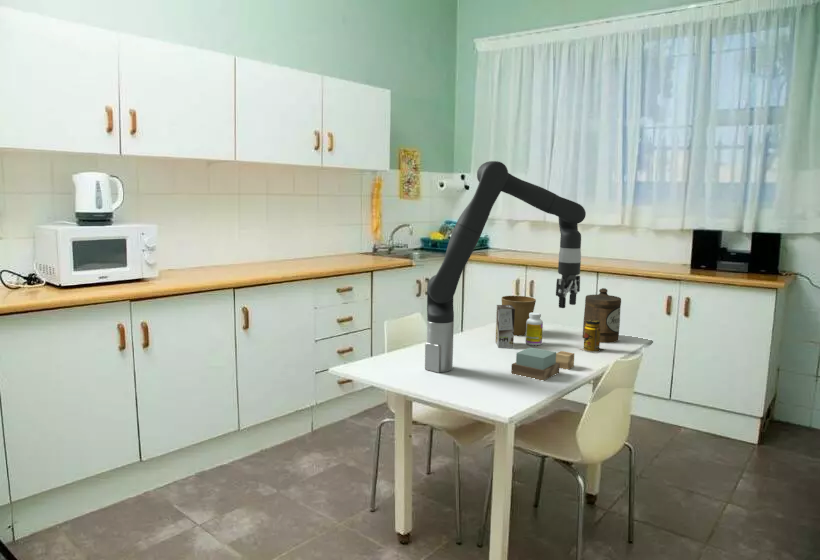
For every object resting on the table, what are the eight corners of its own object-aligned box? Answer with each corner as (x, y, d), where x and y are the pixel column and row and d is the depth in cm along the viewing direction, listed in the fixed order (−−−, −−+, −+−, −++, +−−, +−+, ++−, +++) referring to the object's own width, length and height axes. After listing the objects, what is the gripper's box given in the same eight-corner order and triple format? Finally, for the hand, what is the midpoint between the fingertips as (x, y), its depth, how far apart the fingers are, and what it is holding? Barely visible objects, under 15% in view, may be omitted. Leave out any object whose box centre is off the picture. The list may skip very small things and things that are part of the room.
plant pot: (503, 337, 256) (504, 301, 253) (497, 329, 270) (499, 295, 268) (537, 338, 256) (539, 301, 253) (530, 330, 271) (532, 295, 268)
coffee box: (513, 348, 239) (515, 308, 236) (497, 347, 239) (499, 308, 237) (510, 342, 248) (512, 304, 245) (495, 342, 248) (496, 304, 246)
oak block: (567, 370, 211) (568, 356, 210) (554, 367, 214) (555, 353, 213) (573, 366, 214) (574, 353, 214) (560, 364, 217) (561, 350, 217)
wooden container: (617, 344, 247) (620, 292, 244) (580, 340, 253) (583, 289, 249) (619, 336, 260) (623, 287, 257) (584, 333, 266) (587, 284, 263)
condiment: (579, 349, 238) (580, 320, 236) (590, 346, 244) (591, 317, 242) (595, 353, 233) (597, 323, 231) (606, 349, 238) (608, 320, 237)
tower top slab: (543, 369, 198) (543, 358, 198) (516, 364, 204) (516, 353, 204) (555, 363, 206) (556, 352, 205) (529, 358, 212) (529, 347, 212)
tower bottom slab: (542, 382, 198) (543, 371, 197) (511, 375, 205) (511, 364, 205) (559, 374, 207) (559, 363, 206) (528, 367, 214) (528, 356, 214)
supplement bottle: (542, 346, 242) (543, 315, 240) (525, 345, 243) (527, 314, 241) (541, 342, 249) (542, 312, 247) (525, 341, 250) (526, 311, 248)
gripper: (570, 263, 201) (568, 310, 203) (588, 259, 211) (585, 304, 214) (550, 261, 205) (548, 307, 208) (568, 258, 216) (566, 302, 219)
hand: (567, 306), depth 211 cm, fingers open, 8 cm apart
